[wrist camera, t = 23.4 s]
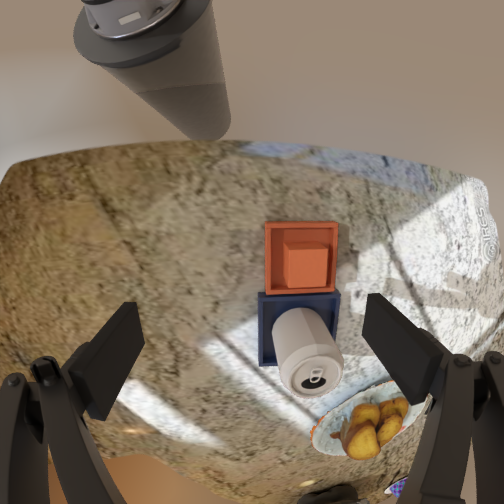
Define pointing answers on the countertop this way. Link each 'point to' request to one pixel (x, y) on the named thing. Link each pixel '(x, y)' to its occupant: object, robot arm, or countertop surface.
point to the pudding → (396, 487)
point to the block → (304, 264)
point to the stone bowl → (334, 497)
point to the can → (306, 353)
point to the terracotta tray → (297, 233)
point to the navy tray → (280, 303)
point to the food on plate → (365, 422)
